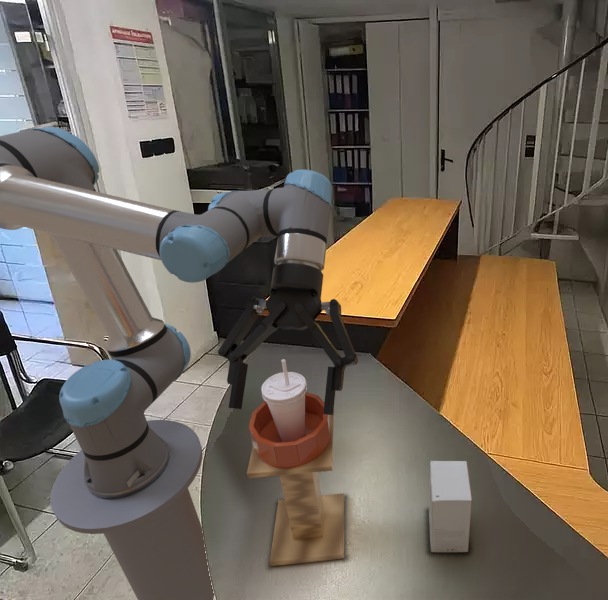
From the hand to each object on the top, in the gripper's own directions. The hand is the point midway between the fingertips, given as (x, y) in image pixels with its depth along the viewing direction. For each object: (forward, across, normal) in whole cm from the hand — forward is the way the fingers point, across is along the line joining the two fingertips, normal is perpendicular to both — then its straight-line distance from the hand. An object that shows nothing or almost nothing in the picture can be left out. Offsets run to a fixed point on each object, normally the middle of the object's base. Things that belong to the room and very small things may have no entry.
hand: (281, 411), depth 68 cm
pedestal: (+19, 0, -23) cm, 30 cm away
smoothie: (+3, 0, -7) cm, 7 cm away
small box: (+18, -24, -24) cm, 39 cm away
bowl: (+4, 0, -7) cm, 8 cm away
